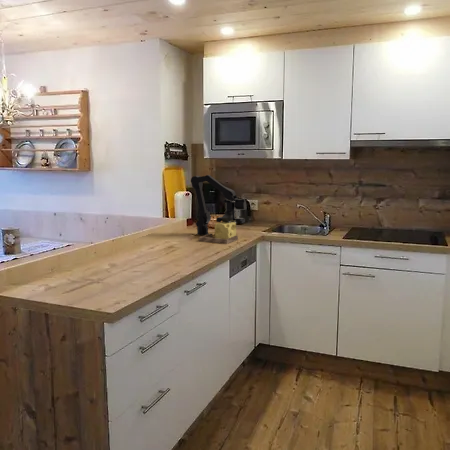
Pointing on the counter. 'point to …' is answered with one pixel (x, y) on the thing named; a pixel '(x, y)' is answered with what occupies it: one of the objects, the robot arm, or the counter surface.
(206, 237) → the bay
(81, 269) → the counter surface
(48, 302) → the counter surface
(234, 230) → the cheese
